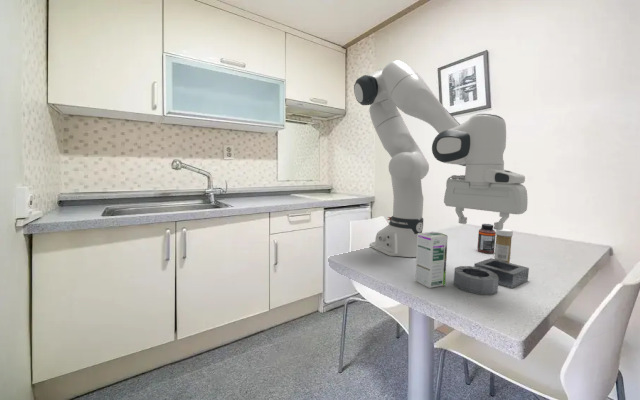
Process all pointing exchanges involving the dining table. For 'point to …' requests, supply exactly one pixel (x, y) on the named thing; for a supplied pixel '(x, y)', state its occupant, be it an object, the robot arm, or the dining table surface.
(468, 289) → the round socket
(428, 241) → the syrup box
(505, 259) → the sprinkles bottle
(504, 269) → the square socket
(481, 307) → the dining table surface
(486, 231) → the supplement bottle
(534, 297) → the dining table surface
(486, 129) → the robot arm
